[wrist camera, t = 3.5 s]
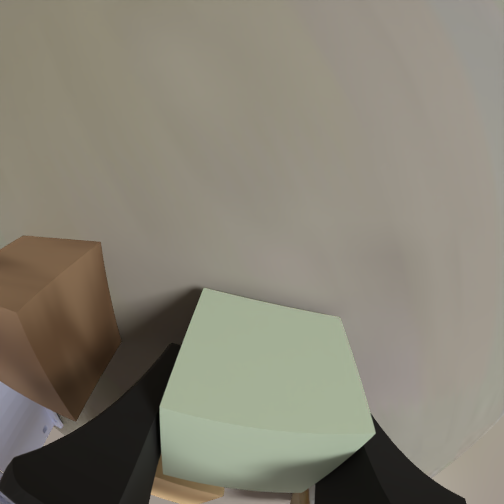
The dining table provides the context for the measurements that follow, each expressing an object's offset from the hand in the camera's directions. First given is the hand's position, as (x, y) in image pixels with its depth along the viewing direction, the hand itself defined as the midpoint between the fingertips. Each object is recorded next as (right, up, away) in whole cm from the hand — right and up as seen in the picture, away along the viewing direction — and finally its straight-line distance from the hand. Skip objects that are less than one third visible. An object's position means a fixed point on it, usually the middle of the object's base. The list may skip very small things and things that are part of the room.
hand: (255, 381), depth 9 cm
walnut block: (-9, +3, +1) cm, 9 cm away
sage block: (0, +1, +1) cm, 2 cm away
